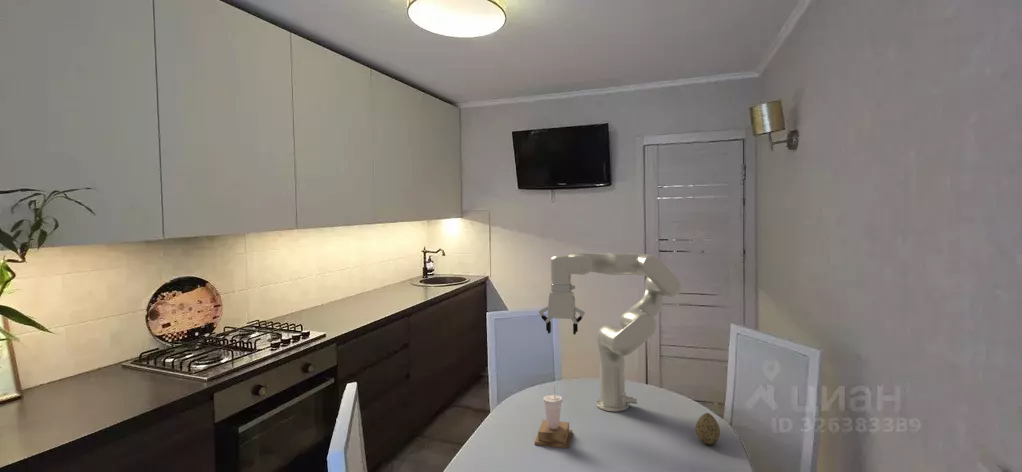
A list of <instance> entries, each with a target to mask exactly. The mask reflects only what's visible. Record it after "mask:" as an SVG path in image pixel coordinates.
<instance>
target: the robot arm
mask: <svg viewBox="0 0 1022 472" xmlns="http://www.w3.org/2000/svg"><path fill="white" fill-rule="evenodd" d="M589 273H598V274H603V275H608V276H644V277H646V279H645V281H644V282H645V284H644V294H643V295H642V297H641V298H640V300H638V302H636V303H635V304H634V305H632V306H631V307H630V308H628V310H626V311H625V312H624V313H622V314H621V316H620V318H619V324H620V327H619V326H617V325H614V324H605V325H603V326H601V327H600V328H599V330H598V332H597V336H596V340H597V341H596V342H597V348H598V354H599V357H598V358H599V398H597V400H595V401H596V402H595V405H596V407H597V408H598V409H601V410H603V411H606V412H618V413H619V412H623V411H626V410H628V409H629V408H630V404H633V405H637V404H638V399H637V398H634V396H628V395H626V394H627V393H626V390H625V389H626V387H625V385H626V383H625V381H626V380H625V369H626V368H625V366H626V365H625V364H626V363H625V356H629V355H631V354H632V353H634V352H635V351H636V350H637V349H639V348H640V347H641V346H642V345H643V344H645V343H646V342H647V341H648V340H650V339H651V338H652V337H653V335H654V334H655V332H656V329H657V322H656V319H655V317H657V315H658V314H659V313H660V312H661V310H662V307H663V303H664V297H665V298H666V297H667V298H674V297H675V296H677V295H678V294H679V293H680V291H681V289H682V284H681V281H680V279H679V278H678V277H677V275H676V274H675V273H674V272H673V271H672V270H671V269H670V268H669V267H668V265H666V264H665V263H664V262H663V260H661V259H660V258H659V257H658V256H656V255H655V254H647V253H635V252H634V253H629V252H627V253H624V252H623V253H621V252H618V253H617V252H616V253H615V252H612V253H611V252H610V253H576V252H575V253H574V252H573V253H570V254H568V255H561V254H560V255H554V256H552V257H551V258H550V284H551V285H550V287H551V289H550V291H549V293H548V294H549V295H548V301H547V303H548V304H547V306H546V307H544V308H542V309H540V310H539V311H538V314H539V315H540V317H541V319H542V320H543V321H544V323H545V327H546V331H547V334H551V333H552V322H551V320H552V319H559V320H560V319H562V320H571V321H572V322H573V324H572V328H573V330H572V331H573V332H572V333H573V335H576V333H578V331H579V330H578V325H579V324H578V323H580V321H582V319H583V317H584V316H585V313H586V311H585V310H582V309H580V308H578V307H576V299H575V298H576V297H575V293H574V291H573V290H576V285H575V284H574V285H573V284H572V275H577V276H578V275H580V276H584V275H587V274H589ZM545 312H547V316H546V315H545ZM576 314H579V316H578V317H576ZM621 327H622V328H621Z"/></svg>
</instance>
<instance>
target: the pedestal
mask: <svg viewBox="0 0 1022 472" xmlns="http://www.w3.org/2000/svg"><path fill="white" fill-rule="evenodd" d="M572 437H573V429H570V422H569V421H559V427H558V428H557V429H550V428H548V425H547V419H544V420H542V422H541V424H540V427H539V429H538V432H537V435H536V438H535V440H534V446H540V447H541V446H542V447H543V446H544V447H553V448H560V449H561V448H563V449H569V448H570V444H571V441H572Z"/></svg>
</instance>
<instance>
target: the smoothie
mask: <svg viewBox="0 0 1022 472" xmlns="http://www.w3.org/2000/svg"><path fill="white" fill-rule="evenodd" d="M552 390H553V392H552V394H547V395H545V396H544V397H543V398H542V401H543V404H544V408H545V417H546V420H547V425H548V428H550V429H557V428H558V427H559V422H560V418H561V408H562V402H563V397H562V396H560V395H558V394H556V385H555V384H553V388H552Z"/></svg>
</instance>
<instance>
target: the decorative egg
mask: <svg viewBox="0 0 1022 472" xmlns="http://www.w3.org/2000/svg"><path fill="white" fill-rule="evenodd" d="M695 432H696V435H697V438H698V440H699V441H700V442H702V443H703V444H704V445H709V446H710V445H714V444H716V443H717V442H718V441H719V439H720V435H721V429H720V426H719V423H718V421H717V420H716V418H715V417H714V416H713V415H712V413H709V412H705V413H703V414H702V415H701V416H699V419H698V420H697V422H696V424H695Z"/></svg>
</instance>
